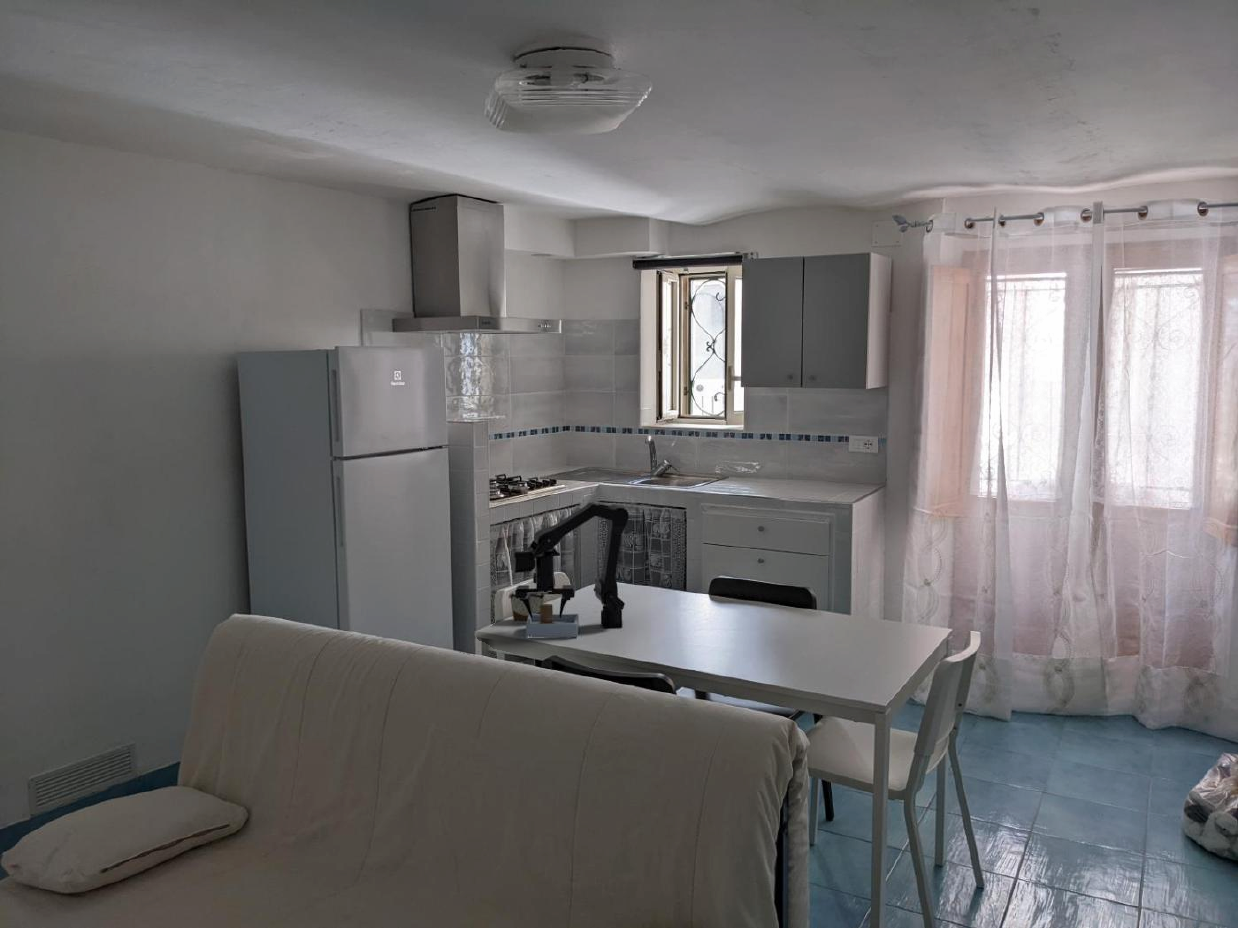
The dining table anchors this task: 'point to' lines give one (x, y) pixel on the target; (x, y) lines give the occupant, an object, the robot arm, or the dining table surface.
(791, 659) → the dining table surface
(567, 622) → the box
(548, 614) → the peg
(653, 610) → the dining table surface
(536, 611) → the food container
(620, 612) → the robot arm
